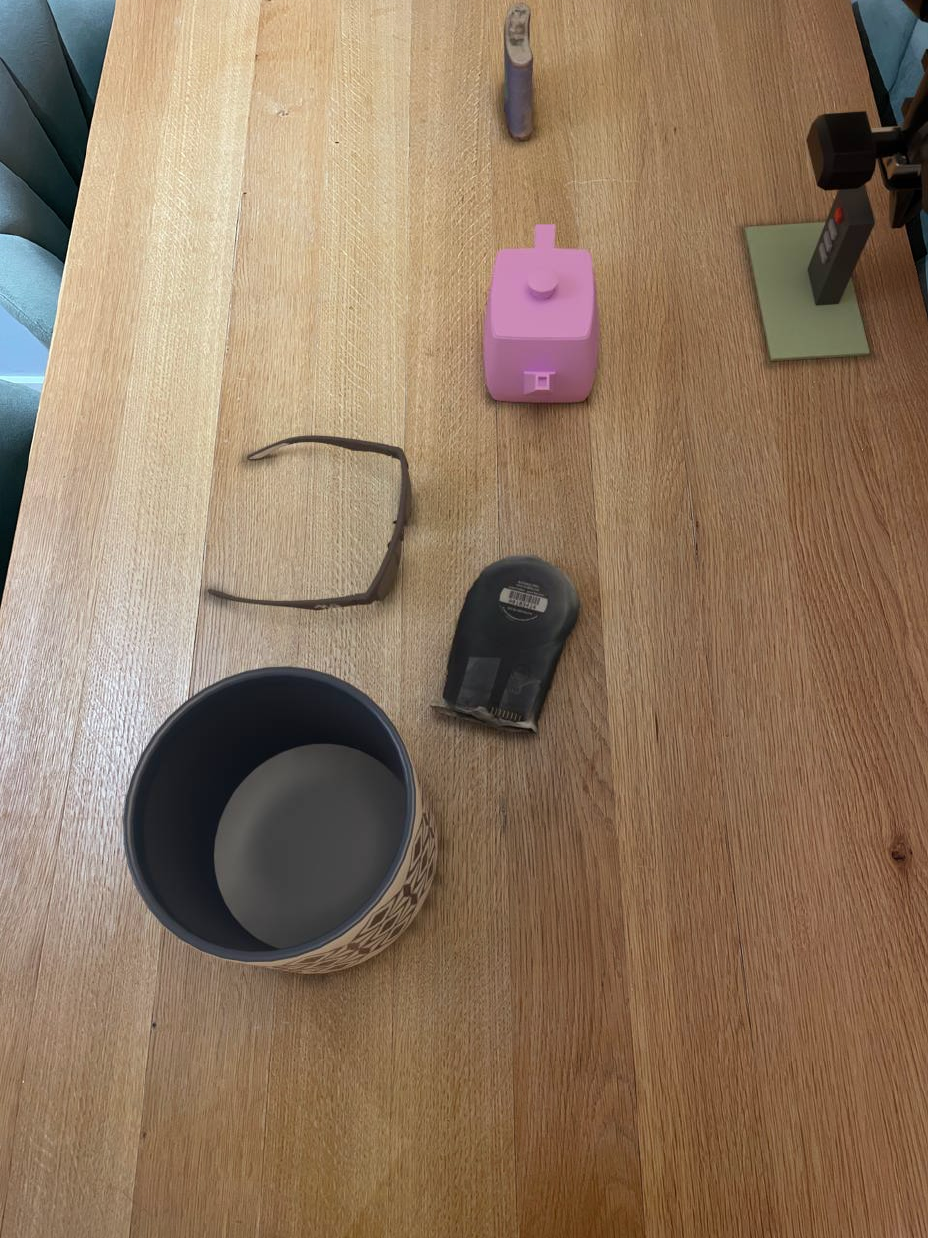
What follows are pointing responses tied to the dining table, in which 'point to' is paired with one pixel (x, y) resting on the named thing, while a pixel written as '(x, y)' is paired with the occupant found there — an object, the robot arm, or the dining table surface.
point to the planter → (281, 823)
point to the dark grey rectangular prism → (840, 245)
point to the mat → (800, 297)
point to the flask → (518, 72)
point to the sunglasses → (393, 555)
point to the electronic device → (509, 643)
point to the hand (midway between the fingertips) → (894, 224)
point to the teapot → (541, 323)
